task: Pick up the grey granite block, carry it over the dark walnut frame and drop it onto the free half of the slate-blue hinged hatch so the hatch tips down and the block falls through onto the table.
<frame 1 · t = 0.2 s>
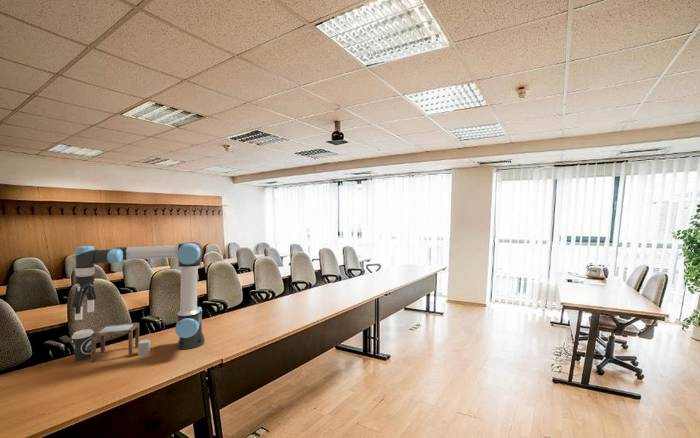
hand: (84, 315, 155), 28 cm above the table, fingers open, 13 cm apart
coffee cup: (82, 358, 166), on the table
hatch: (116, 329, 171), point 14 cm above the table, hinge at -0.2°
hatch frame: (116, 353, 171), on the table
stone: (144, 353, 172), on the table
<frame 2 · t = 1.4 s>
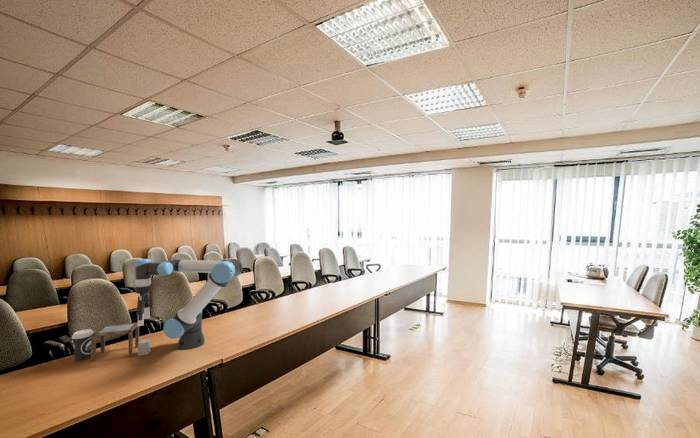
hand: (143, 322, 172), 18 cm above the table, fingers open, 13 cm apart
nothing on the table moved.
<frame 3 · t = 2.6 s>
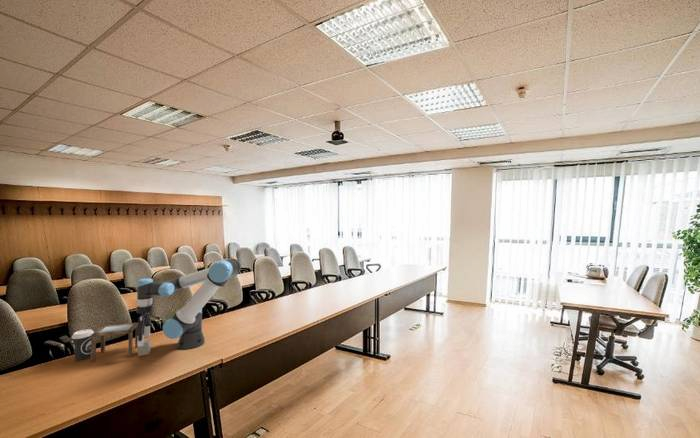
hand: (143, 341, 172), 7 cm above the table, fingers open, 13 cm apart
nothing on the table moved.
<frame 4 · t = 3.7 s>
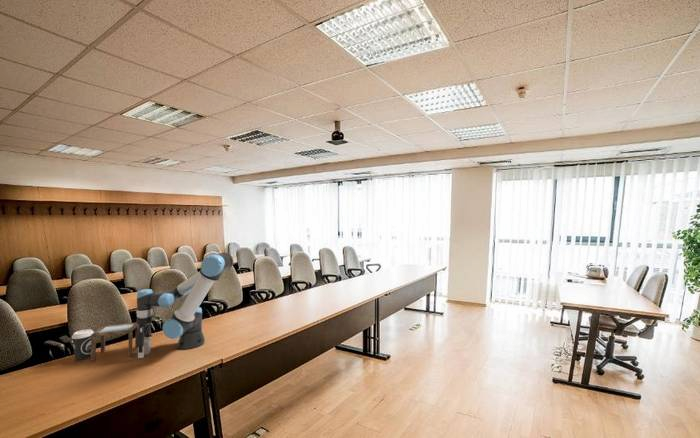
hand: (144, 352, 172), 0 cm above the table, fingers open, 12 cm apart
nothing on the table moved.
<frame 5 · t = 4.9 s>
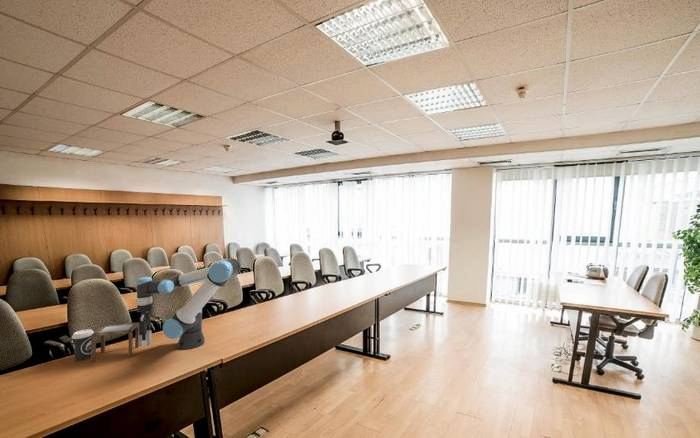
hand: (145, 343, 172), 6 cm above the table, fingers closed on stone, 5 cm apart
stone: (145, 344, 172), point 5 cm above the table, touching gripper
everything else where it was.
when the fingers open (16 cm above the table, at t = 6.9 s): stone drops 5 cm, resting on hatch.
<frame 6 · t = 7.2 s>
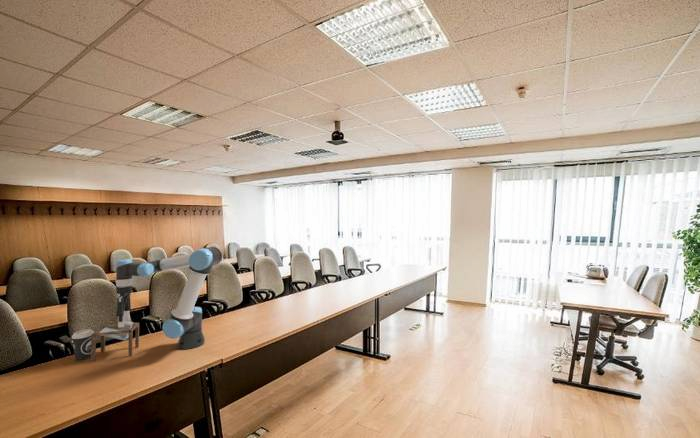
hand: (123, 324, 173), 17 cm above the table, fingers open, 8 cm apart
hatch: (115, 333, 171), point 12 cm above the table, hinge at -22.1°, touching stone
stone: (122, 334, 172), point 11 cm above the table, tilted 22°, touching hatch
everything else where it was.
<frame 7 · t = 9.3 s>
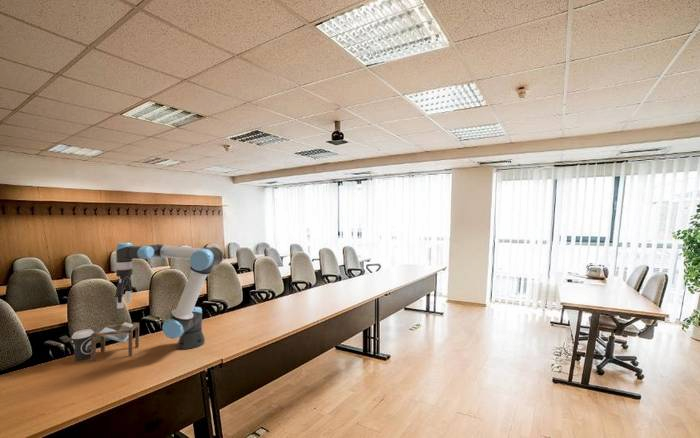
hand: (124, 305, 173), 28 cm above the table, fingers open, 13 cm apart
hatch: (114, 334, 171), point 11 cm above the table, hinge at -28.2°, touching stone
stone: (121, 336, 172), point 10 cm above the table, tilted 26°, touching hatch, hatch frame
everything else where it was.
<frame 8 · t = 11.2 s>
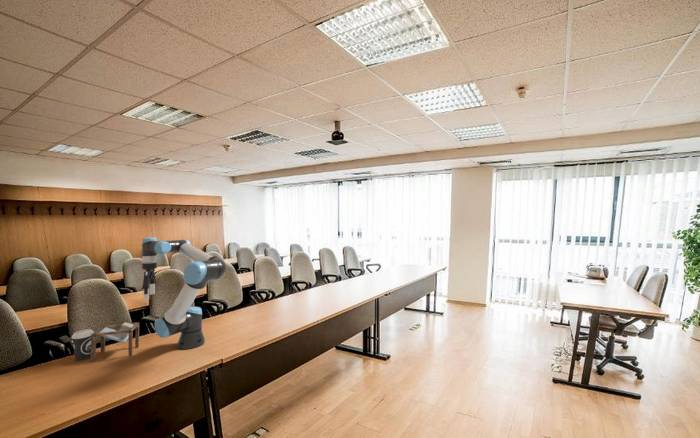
hand: (149, 296, 182), 31 cm above the table, fingers open, 13 cm apart
nothing on the table moved.
at the end: stone point 10.0 cm above the table; stone 2.5 cm from the hatch frame (horizontally) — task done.
